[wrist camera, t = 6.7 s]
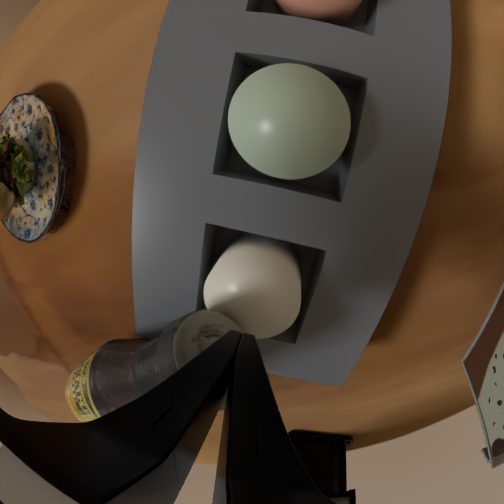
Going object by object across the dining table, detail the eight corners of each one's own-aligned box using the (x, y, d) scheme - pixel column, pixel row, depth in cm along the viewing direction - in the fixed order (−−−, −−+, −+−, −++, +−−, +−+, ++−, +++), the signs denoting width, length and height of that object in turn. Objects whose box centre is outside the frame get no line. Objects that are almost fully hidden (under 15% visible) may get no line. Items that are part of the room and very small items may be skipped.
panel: (424, -16, 7) (444, -38, 4) (338, 349, 16) (342, 386, 13) (221, -55, 8) (206, -83, 5) (158, 305, 17) (136, 334, 14)
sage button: (345, 94, 10) (360, 79, 7) (326, 180, 11) (336, 192, 9) (253, 75, 10) (239, 55, 7) (237, 160, 12) (218, 166, 9)
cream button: (310, 241, 13) (313, 269, 10) (289, 310, 14) (286, 347, 12) (227, 222, 13) (208, 244, 10) (217, 292, 15) (199, 325, 12)
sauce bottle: (72, 357, 21) (168, 242, 11) (126, 383, 24) (273, 308, 14) (55, 416, 16) (125, 399, 6) (116, 440, 19) (278, 436, 9)
